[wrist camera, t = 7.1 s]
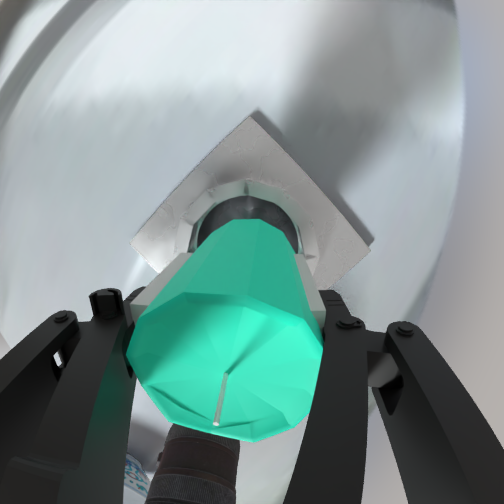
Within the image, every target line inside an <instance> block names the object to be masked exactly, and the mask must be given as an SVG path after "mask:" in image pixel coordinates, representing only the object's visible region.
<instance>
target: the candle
mask: <svg viewBox="0 0 504 504" xmlns="http://www.w3.org/2000/svg"><path fill="white" fill-rule="evenodd" d="M294 254H296V253H295V252H294V250H293V248H292V246H291V245H290V243H289V241H288V240H287V238H286V236H285V235H284V233H283V232H282V231H281V230H279V229H277V228H275V227H273V226H272V225H270V224H268V223H266V222H264V221H263V220H261V219H233V220H232V221H230V222H228V223H227V224H225V225H223V226H222V227H220V228H218V229H217V230H215V231H214V232H212V233H211V234H210V235H209V236H208V237H207V238H206V240H205V241H204V242H203V243H202V244H201V245H200V246H199V247H198V249H197V250H196V251H195V252H194V253H193V254H192V255H191V257H190V258H189V259H188V260H187V261H186V262H185V263H184V265H183V266H182V267H181V268H180V269H179V270H178V272H177V273H176V274H175V275H174V276H173V277H172V279H171V280H170V281H169V282H168V283H167V284H166V286H165V287H164V288H163V289H162V290H161V292H160V293H159V294H158V295H157V296H156V297H155V299H154V300H153V301H152V302H151V303H150V305H149V306H148V307H147V308H146V310H145V311H144V312H143V313H142V314H141V316H140V317H139V318H138V320H137V323H136V326H135V329H134V332H133V335H132V337H131V340H130V343H129V346H128V349H127V352H126V356H127V358H128V360H129V362H130V364H131V366H132V368H133V370H134V372H135V374H136V376H137V378H138V380H139V382H140V384H141V386H142V387H143V388H144V390H145V391H146V393H147V394H148V395H149V397H150V398H151V399H152V401H153V402H154V403H155V405H156V406H157V407H158V409H159V410H160V411H161V413H162V414H163V415H164V416H165V418H166V419H167V420H168V421H169V422H172V423H175V424H178V425H181V426H185V427H188V428H192V429H195V430H199V431H203V432H207V433H211V434H215V435H219V436H224V437H228V438H233V439H238V440H243V441H248V442H257V441H259V440H262V439H265V438H268V437H271V436H273V435H276V434H279V433H281V432H284V431H286V430H289V429H291V428H294V427H295V426H296V425H297V424H298V423H299V422H300V421H301V420H302V419H303V418H304V417H305V416H306V415H307V414H308V413H309V412H310V409H311V405H312V400H313V396H314V391H315V387H316V382H317V378H318V373H319V368H320V363H321V358H322V352H323V347H324V341H323V337H322V334H321V331H320V327H319V324H318V322H317V321H316V319H315V317H314V316H313V314H312V312H311V310H310V307H309V303H308V300H307V297H306V293H305V290H304V287H303V283H302V280H301V277H300V273H299V270H298V267H297V264H296V260H295V257H294Z"/></svg>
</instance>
